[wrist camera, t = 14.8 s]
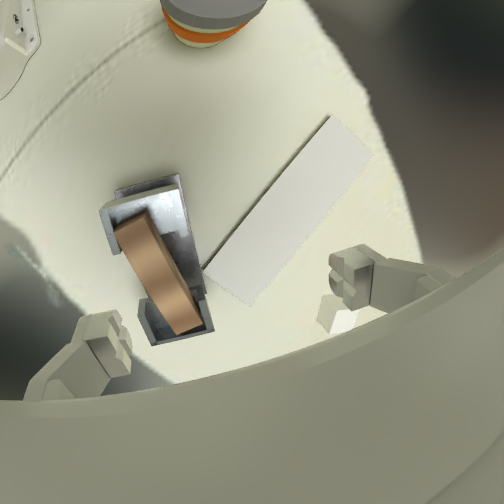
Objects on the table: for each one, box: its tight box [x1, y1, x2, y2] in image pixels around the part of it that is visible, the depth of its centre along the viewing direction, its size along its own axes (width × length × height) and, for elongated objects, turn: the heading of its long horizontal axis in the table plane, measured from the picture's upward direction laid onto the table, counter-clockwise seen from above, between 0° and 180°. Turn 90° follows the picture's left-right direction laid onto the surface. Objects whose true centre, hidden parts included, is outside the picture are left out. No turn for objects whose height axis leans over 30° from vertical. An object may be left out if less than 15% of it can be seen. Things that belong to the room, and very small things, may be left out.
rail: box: [113, 208, 203, 335], centre depth 33 cm, size 16×4×4 cm, turn 20°
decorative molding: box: [202, 114, 374, 307], centre depth 46 cm, size 34×5×10 cm
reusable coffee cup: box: [160, 0, 267, 48], centre depth 24 cm, size 13×13×15 cm
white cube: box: [317, 294, 360, 334], centre depth 56 cm, size 6×6×6 cm
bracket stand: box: [99, 173, 215, 346], centre depth 38 cm, size 21×10×12 cm, turn 9°
